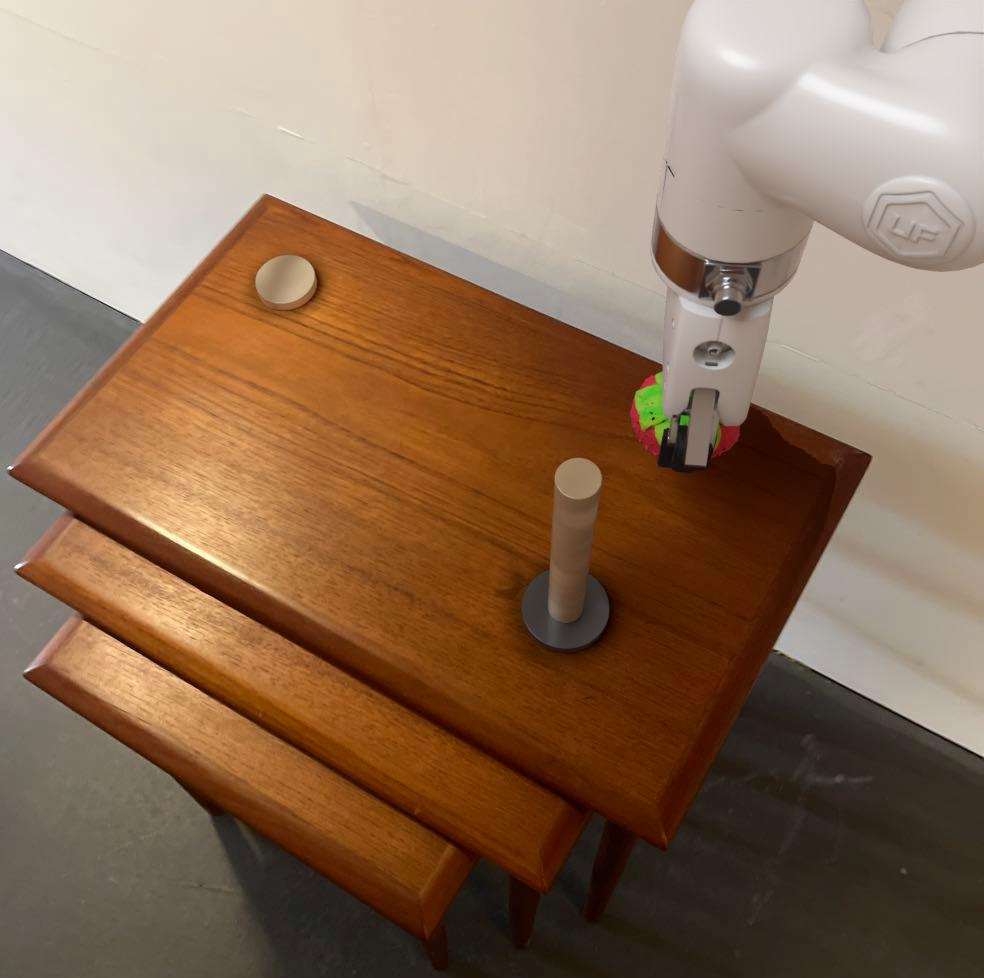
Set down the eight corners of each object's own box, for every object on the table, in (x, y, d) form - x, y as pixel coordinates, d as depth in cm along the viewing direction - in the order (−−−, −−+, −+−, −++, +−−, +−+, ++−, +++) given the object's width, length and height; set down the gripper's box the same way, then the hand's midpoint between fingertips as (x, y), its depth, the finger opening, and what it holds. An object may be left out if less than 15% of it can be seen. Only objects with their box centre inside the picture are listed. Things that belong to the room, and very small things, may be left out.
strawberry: (701, 512, 67) (723, 440, 58) (609, 460, 70) (617, 383, 60) (744, 451, 69) (772, 371, 60) (653, 402, 71) (667, 318, 62)
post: (611, 576, 68) (642, 431, 50) (605, 658, 66) (634, 537, 48) (526, 567, 69) (525, 422, 51) (516, 648, 67) (512, 525, 48)
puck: (322, 264, 82) (320, 256, 81) (310, 312, 80) (308, 305, 79) (265, 260, 82) (262, 252, 81) (252, 308, 80) (249, 301, 79)
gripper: (808, 380, 44) (739, 542, 61) (806, 105, 51) (745, 317, 68) (642, 369, 46) (618, 531, 62) (662, 102, 53) (635, 311, 69)
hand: (685, 418), depth 65 cm, fingers closed on strawberry, 6 cm apart
